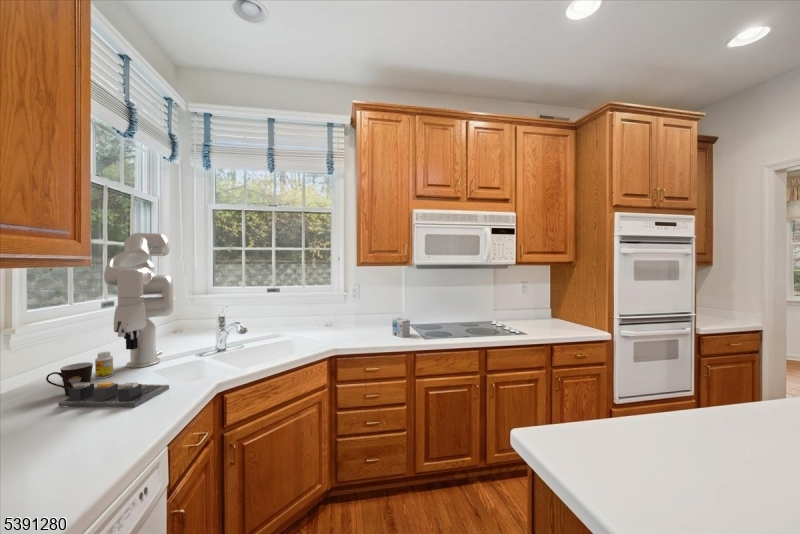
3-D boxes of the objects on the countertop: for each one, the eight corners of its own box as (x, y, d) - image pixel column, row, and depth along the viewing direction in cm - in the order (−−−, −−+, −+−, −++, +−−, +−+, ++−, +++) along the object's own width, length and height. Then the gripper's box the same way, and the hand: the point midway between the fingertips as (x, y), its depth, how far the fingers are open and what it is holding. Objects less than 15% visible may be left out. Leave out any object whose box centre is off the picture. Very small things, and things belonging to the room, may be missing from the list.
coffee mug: (99, 387, 127) (98, 361, 127) (81, 396, 118) (81, 369, 118) (64, 389, 125) (64, 363, 125) (44, 398, 116) (43, 370, 116)
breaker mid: (106, 394, 116) (106, 380, 115) (117, 394, 116) (117, 380, 115) (93, 400, 111) (93, 386, 110) (104, 400, 111) (104, 386, 110)
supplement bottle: (93, 377, 137) (92, 353, 137) (109, 373, 142) (109, 350, 142) (98, 379, 135) (98, 355, 135) (115, 375, 140) (115, 352, 139)
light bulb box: (392, 334, 217) (392, 318, 217) (399, 333, 222) (399, 317, 221) (402, 337, 209) (402, 321, 209) (410, 336, 214) (410, 319, 213)
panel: (102, 388, 126) (102, 371, 126) (169, 388, 125) (169, 371, 125) (58, 406, 110) (58, 387, 110) (134, 407, 109) (134, 387, 109)
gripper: (137, 297, 131) (138, 342, 132) (102, 304, 116) (104, 354, 117) (155, 298, 131) (156, 343, 132) (123, 304, 116) (124, 355, 117)
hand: (131, 348), depth 125 cm, fingers closed
